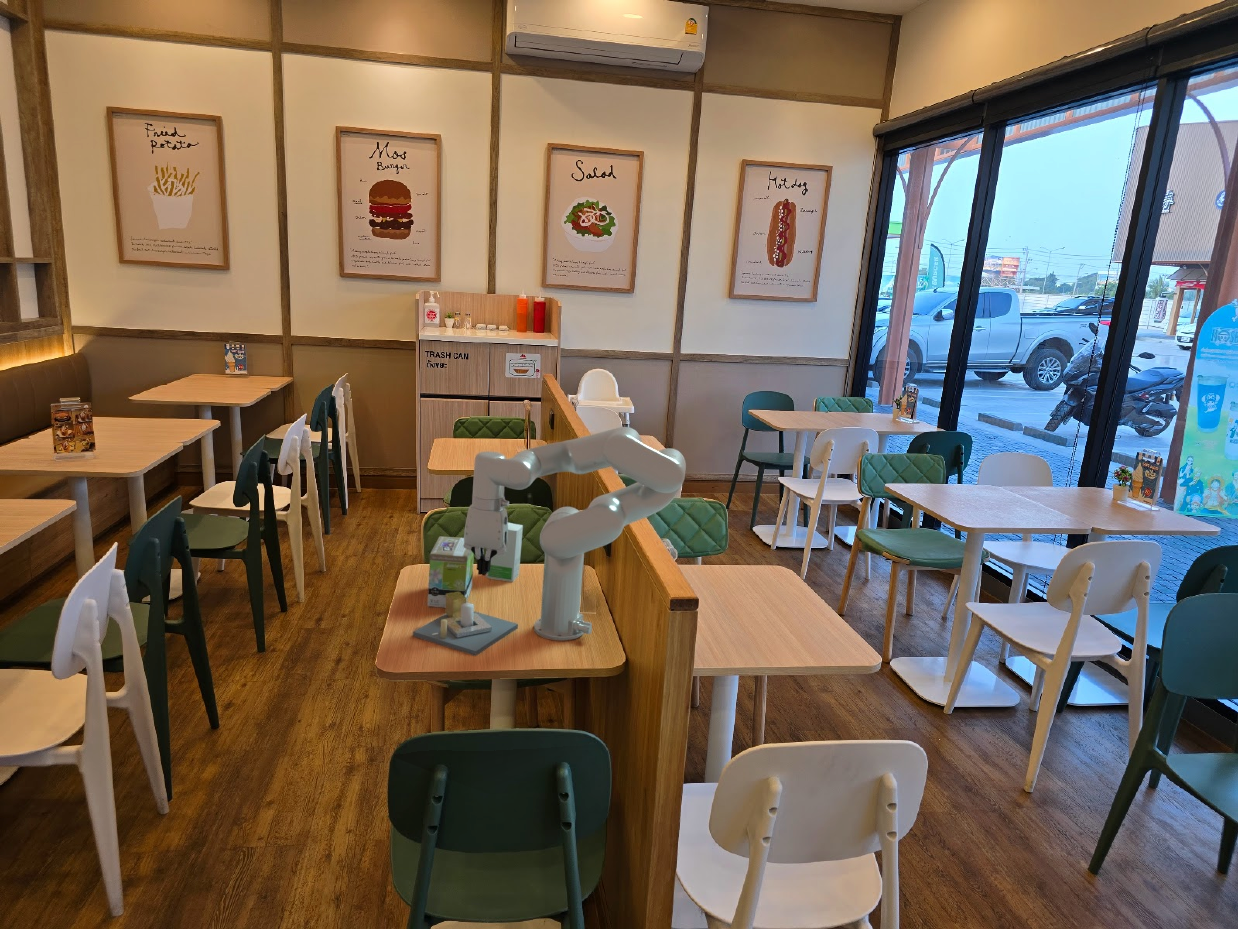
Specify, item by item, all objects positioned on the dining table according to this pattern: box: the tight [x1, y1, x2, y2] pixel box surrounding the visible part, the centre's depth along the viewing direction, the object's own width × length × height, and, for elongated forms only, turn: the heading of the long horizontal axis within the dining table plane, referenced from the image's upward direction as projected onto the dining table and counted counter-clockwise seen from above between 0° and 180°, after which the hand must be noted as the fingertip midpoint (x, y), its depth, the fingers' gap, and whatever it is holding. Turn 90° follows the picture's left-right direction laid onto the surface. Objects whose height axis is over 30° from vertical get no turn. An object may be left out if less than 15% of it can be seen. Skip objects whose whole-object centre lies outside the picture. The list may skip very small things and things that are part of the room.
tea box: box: [427, 535, 475, 608], centre depth 217 cm, size 15×10×15 cm, turn 3°
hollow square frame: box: [444, 592, 492, 638], centre depth 200 cm, size 14×9×6 cm, turn 35°
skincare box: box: [485, 522, 524, 583], centre depth 234 cm, size 8×7×16 cm
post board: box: [412, 602, 519, 657], centre depth 198 cm, size 18×18×7 cm
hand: (483, 573), depth 203 cm, fingers closed
